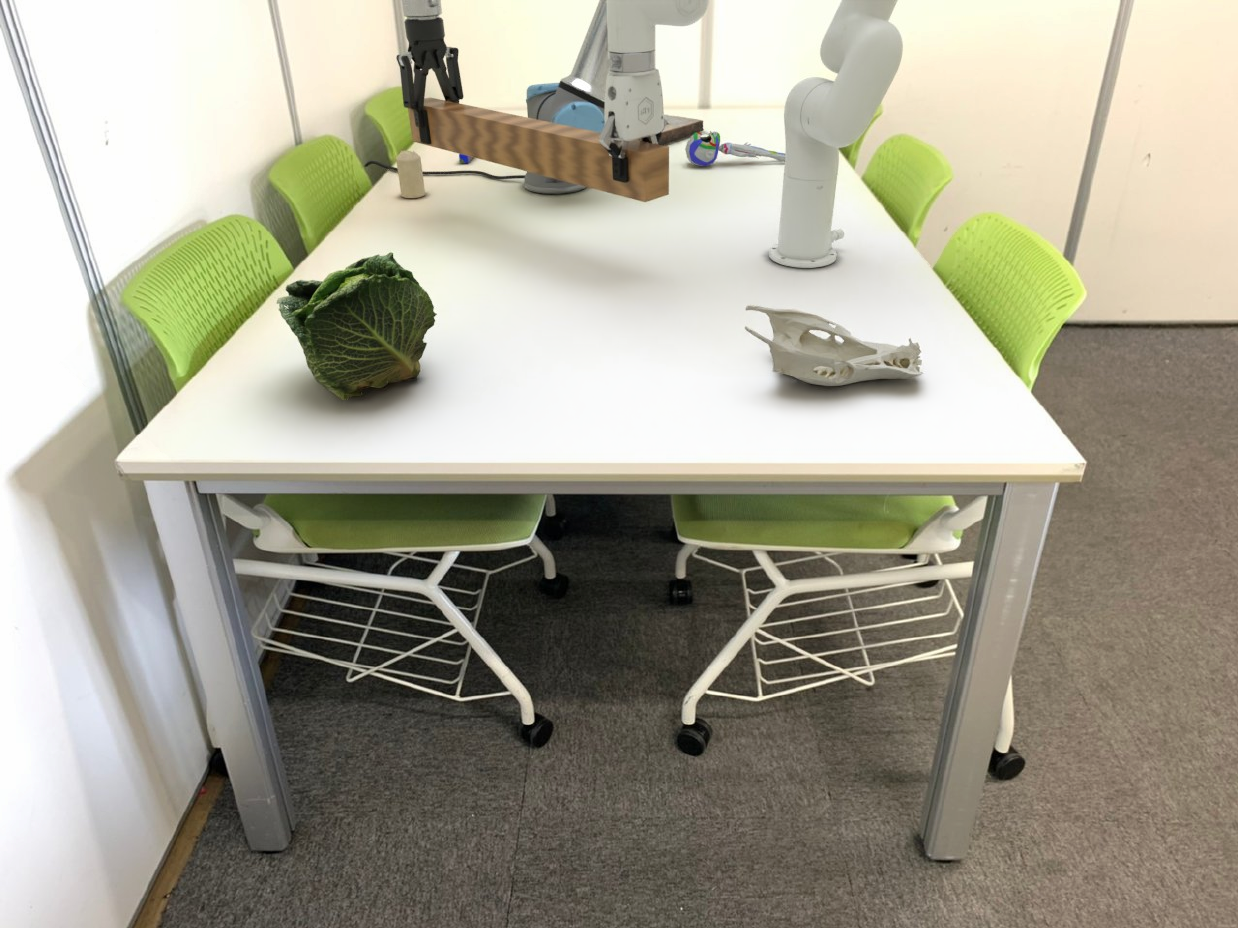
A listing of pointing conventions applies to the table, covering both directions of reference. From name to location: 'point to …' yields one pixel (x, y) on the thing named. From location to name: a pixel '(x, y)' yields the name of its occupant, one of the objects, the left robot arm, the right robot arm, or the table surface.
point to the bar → (544, 149)
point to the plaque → (679, 129)
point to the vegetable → (360, 325)
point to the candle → (410, 174)
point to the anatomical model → (832, 351)
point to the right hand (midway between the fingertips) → (634, 176)
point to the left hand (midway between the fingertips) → (439, 140)
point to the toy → (721, 149)
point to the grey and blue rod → (465, 158)
